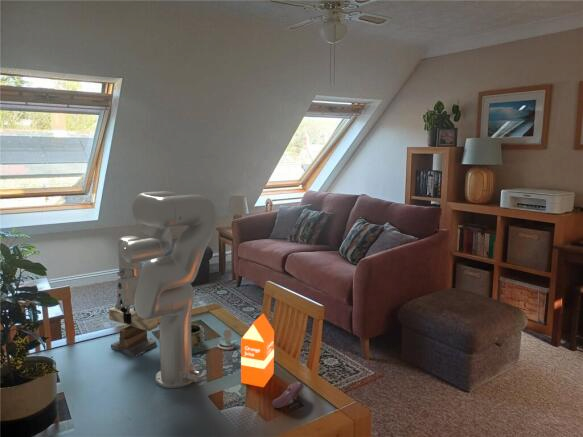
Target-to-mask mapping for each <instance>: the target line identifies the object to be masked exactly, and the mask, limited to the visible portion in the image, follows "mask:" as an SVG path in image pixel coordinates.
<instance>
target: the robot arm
mask: <svg viewBox="0 0 583 437" xmlns="http://www.w3.org/2000/svg"><path fill="white" fill-rule="evenodd" d="M131 213H132V216H133V218H134V219H135V220H136V221H137V222H138V223H140V226H141V230H142V232H143V233H144V234H145V235H146V236H147V237H148V238H142V239H141V238H140V237H139V236H136V235H127V236H122V237H120V238H119V239H118V240H117V251H118V252H117V253H118V254H117V255H118V256H117V257H118V271H117V272H116V274H117V276H118V277H117V285H116V304H115V306H114V307H115V309H118V310H120V311H121V312H122V313H123V317H124V323H126V324H131V313H130V309H131V306H134V307H133V310H135V311H136V313H137V315H138V316H139V317H140V318H142V319H153V318H157V319H158V318H160V317H161V318H160V322H159V326H158V327H159V330H158V332H159V354H160V355H159V357H160V358H159V360H160V361H159V362H160V363H159V364H160V367H159V368H160V370H159V371H157V373H156V374H155V382H156V384H157V385H159V386H161V387H164V388H167V389H177V388H182V387H186V386H188V385H190V384H191V383H193V382H194V383H197V382H198V381H199V378H200V376H201V371H198V370H197V369H196V368H195V364H194V363H193V362H192V360H193V358H192V356H193V355H192V351H193V349H191V324H192V310H193V304H194V300H195V291H194V287H193V285H192V283H193V282H194V281H195V279H196V277H197V275H198V273H199V269H200V266H201V263H202V260H203V258H204V254H205V251H206V249H207V247H208V244H209V242H210V241H211V239H212V237H213V235H214V233H215V230H216V226H217V209H216V206H215V203H214V202H213V201H212V199H211V198H209V197H207V196H205V195H203V194H185V195H183V194H182V195H179V194H178V193H176V192H174V191H168V190H167V191H166V190H164V191H163V190H162V191H160V190H159V191H148V192H147V191H146V192H142V193H139V194H138V195H136V196H135V197H134V199H133V201H132V204H131ZM185 226H186V229H184V230H183V231H182V233H181V234H180V235H179V236H178V238H176V241H175V242H174V247H173V249H172V252H171V253H170V254H167V253H168V252H169V250H170V248H171V247H172V245H173V244H172V243H173V236H172V232H171V229H172V228H179V227H185ZM187 226H188V227H187ZM166 254H167V255H166ZM144 262H145V263H144ZM143 263H144V264H143ZM142 264H143V266H142ZM125 308H126V309H125ZM126 324H125V325H126Z"/></svg>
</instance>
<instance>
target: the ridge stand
mask: <svg viewBox="0 0 583 437" xmlns="http://www.w3.org/2000/svg"><path fill="white" fill-rule="evenodd" d="M118 338H119V340H118V341H116V342H112V343H111V344H110V349H111V348H112V350H114V351H117V352H120V353H122V354H126V355H129V356H132V357H137V356H138V354H139V355H141V354H143V353H145V352H147V351H148V349H149V348H150V349H152V348H154V347H157V341H155V340H153V339H149V338H148V331H146V330H143V329H140V328H136V327H133V326H129V325H127V327H124V328H121V329H120V330H119V337H118ZM153 346H154V347H153ZM150 349H149V350H150ZM146 350H147V351H146ZM144 351H145V352H144ZM142 352H143V353H142ZM140 353H141V354H140ZM136 355H137V356H136Z"/></svg>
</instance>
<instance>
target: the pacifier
mask: <svg viewBox="0 0 583 437" xmlns="http://www.w3.org/2000/svg"><path fill="white" fill-rule="evenodd" d="M232 335H233V333H232V331H231V329H229V328H226V329H225V330H224V332H223V337H218V339H217V343H218V344H217V345H216V346H217V348H218V349H221V350H232V349H234V348H235V346H234V344H236V343H237V342H238V339H233V340H231V337H232Z"/></svg>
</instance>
